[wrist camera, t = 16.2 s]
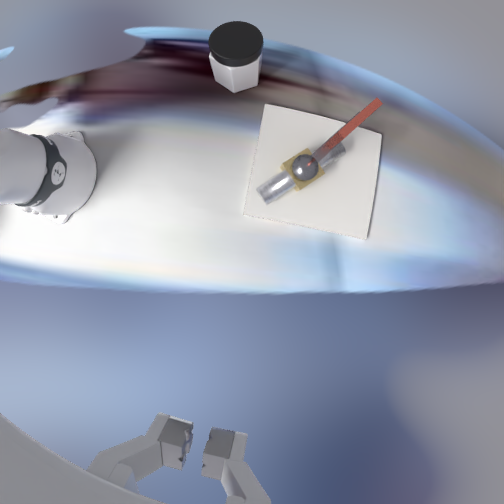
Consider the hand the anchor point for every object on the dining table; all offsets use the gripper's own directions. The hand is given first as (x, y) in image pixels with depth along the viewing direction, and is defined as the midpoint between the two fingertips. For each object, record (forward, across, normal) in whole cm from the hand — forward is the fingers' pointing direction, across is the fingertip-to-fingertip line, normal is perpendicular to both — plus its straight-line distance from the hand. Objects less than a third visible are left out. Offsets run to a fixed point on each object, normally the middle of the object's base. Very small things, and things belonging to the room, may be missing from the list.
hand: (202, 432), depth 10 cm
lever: (+38, +8, +19) cm, 43 cm away
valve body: (+42, +4, +14) cm, 44 cm away
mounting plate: (+42, +7, +15) cm, 45 cm away
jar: (+42, -10, +32) cm, 54 cm away
